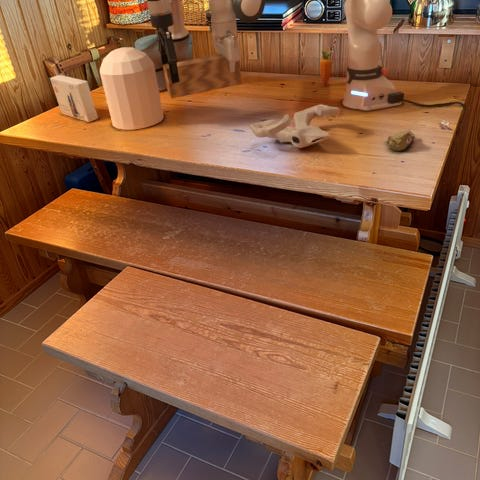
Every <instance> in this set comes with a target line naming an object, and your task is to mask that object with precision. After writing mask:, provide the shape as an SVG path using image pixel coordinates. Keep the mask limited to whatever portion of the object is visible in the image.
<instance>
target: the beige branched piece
mask: <svg viewBox="0 0 480 480" xmlns="http://www.w3.org/2000/svg"><path fill="white" fill-rule="evenodd" d="M340 111H341V110H340V108H339V107H337V106H329V105H325V104H317V105H314V106H311V107H308V108H306V109H303V110H299V111H297V112H294V114H293V123H294V126H295V128H294V129H293V128H290V126H291V117H290V115H289V114H285V115H284V116H283V118H282V119H280V121H278V120H276V119H269V120H264V121H259V122H254V123H251V124H250V131H251V133H253V135H254V136H256V137H257V138H269V139H276V140H277V141H279V142H280V143H291V144H292V146H293V147H295V148H297V149H303V148H307V147H310V146H314V145H316V144H319V143H321V142H323V141H326V140H329V138H330V134H329V132H328V131H326V130H322V129H321V128H320V127H318V126H317V125H314V124H311V122H312V120H313V119H314V118H315V117H316V118H325V117H331V118H335V119H336V118H337V117H338V115H339V113H340Z"/></svg>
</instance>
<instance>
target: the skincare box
mask: <svg viewBox="0 0 480 480" xmlns="http://www.w3.org/2000/svg"><path fill="white" fill-rule="evenodd" d="M49 80H50V83H51V86H52V89H53V91H54V95H55V98H56V100H57V103H58V106H59V109H60V112H61V114H62V115H65V116H68V117H71V118H73V119H78V120H81V121H84V122H87V123H91V122H94V121H96V120H98V119H99V116H98V112H97V110H96V107H95V103H94V102H95V101H94V99H93V96H92V93H91V89H90V86H89V82H88V80H84V79H79V78H76V77H71V76H67V75H63V74H57V75H55V76H52V77H49Z"/></svg>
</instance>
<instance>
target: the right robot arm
mask: <svg viewBox="0 0 480 480" xmlns="http://www.w3.org/2000/svg"><path fill="white" fill-rule="evenodd" d="M266 2H267V0H208V8H209V9H208V10H209V12H210V17H211V18H210V23H211V24H210V26H209V32H210V33H211V38H212V43H213V47H214V50H215V53H216V54H217V55H219V54H221V55H222V56H224V57H225V58H226V59H227V60H228V61H229V71H230V72H234V71H235V62H236V61H239V60H241V52H240V44H239V40H238V38H237V37H235V35H237V34H238V26H237V25H238V24H237V19H238V20H239V21H241V22H243V23H246V24H251V23H254V22H256V21H258V20H260V18H261V17H262V16H263V13H264V10H265V7H266ZM343 11H344V14H345V19H346V29H347V37H348V62H347V63H348V65H347V67H346V72H345V73H346V74H345V77H346V78H345V81H346V87H345V91H344V96H343V99H342V102H341V103H342V106H343V107H346V108H349V109H355V110H361V111H364V112H369V111H375V110H380V109H385V108H391V107H397V106H401V105H402V103H403V102H404V103H409V104H412V105H415V106H419V107H426V108H427V107H438V106H439V107H441V106H448V105H454V104H455V105H460V106H462V107H463V108H466V107H467V106H466V105H465V104H464V103H462V102H460V101H449V102H444V103H433V104H424V103H419V102H414V101H412V100H408V99H404V97H405V93H404V92H402V91H397V89H396V86H395V84H394V83H393V82H392V81H391V80H389V79H388V78H387V77H385V76H384V75H386V74H387V73H388V69H387V68H386V67H383V66H381V65H379V63H380V62H379V61H380V49H381V43H380V39H379V36H378V30H381V29H383V28H385V27H386V26H387V25H388V24H389V23H390V22H391V19H392V16H393V7H392V5H391V2H390V0H345V2H344V6H343Z"/></svg>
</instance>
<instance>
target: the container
mask: <svg viewBox="0 0 480 480" xmlns="http://www.w3.org/2000/svg"><path fill="white" fill-rule="evenodd" d="M99 76H100V79H101V84H102V87H103V91H104V95H105V100H106V103H107V107H108V111H109V115H110V119H111V123H112V124H111V125H112V126H113V127H114V128H116V129H118V130H124V131H128V130H130V131H131V130H139V129H140V130H141V129H146V128H149V127H152V126H155V125H157V124H159V123H160V122H162V120H163V119H164V111H163V107H162V106H163V105H162V100H161V95H160V92H159V89H158V84H157V78H156V73H155V67H154V63H153V61H152V60H151V59H150V58H149V57H148V56H147V54H146V53H144V52H142V51H140V50H137V49H135V47H134V46H133V47H131V46H130V47H129V46H128V47H127V46H125V47H119V48H115V49H113V50H111V51H110V52H109V53H108V54H107V55H106V56H104V58H103V59H102V62H101V65H100V67H99Z"/></svg>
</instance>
